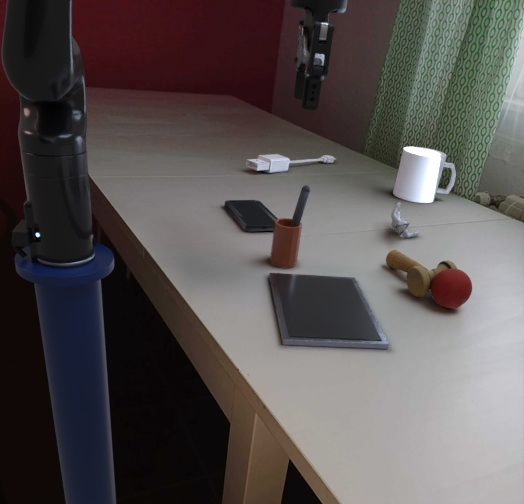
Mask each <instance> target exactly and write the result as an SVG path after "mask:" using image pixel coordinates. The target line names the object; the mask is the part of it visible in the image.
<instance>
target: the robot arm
mask: <svg viewBox="0 0 524 504" xmlns="http://www.w3.org/2000/svg"><path fill="white" fill-rule="evenodd" d="M73 2H74V1H73V0H6V7H5V8H6V9H5V15H4V16H5V18H4V25H3V33H2V42H1V52H0V53H1V54H0V55H1V63H2V67H3V71H4V73H5V76H6V78H7V80H8V82H9V83H10V85H11V86H12V87H13V89H14V90H15V91H16V92H17V93H18V94H19V103H20V104H19V105H20V112H19V113H20V115H19V122H18V129H17V136H18V144H19V151H20V159H21V164H22V171H23V178H24V185H25V193H26V200H25V202H24V203H23V212H24V219H21V220H20V221H19V223H18V224H17V225H16V226H15V227H14V228H13V230H12V231H11V235H12V237H11V240H10V241H11V242H10V243H11V247H12V248H13V250H14V252H16V254H17V253H18V254H19V255H20V256H21V257H22V258H24V257H25V256H27V254H26V253H25V252H24V251H23V250H22V249H23V248H25V247H29V248H30V255H31V262H32V263H39V264H41V265H44V266H47V267H52V268H74V267H79V266H83V265H86V264H88V263H90V262H92V261H93V260H94V258H95V250H94V245H95V247H96V248H97V246H96V243H97V239H96V237H95V236H94V229H93V216H92V215H93V213H92V202H91V188H90V177H89V165H88V163H89V161H88V150H87V132H88V131H87V130H88V114H87V93H86V76H85V66H84V58H83V55H82V51H81V48H80V47H79V46H80V45H79V44H78V42H77V41H76V39H75V38H74V37H73ZM348 2H349V0H289V3H290V6H291V8H293V9H299V10H300V9H301V10H304V11H305V14H304V17H300V19H299V21H298V30H297V40H296V46H295V56H294V59H293V61H294V68H295V70H296V72H295V79H294V80H295V81H294V89H293V98H294V99H295V100H300V101H301V103H300V104H301V108H302V109H303V110H309V111H316V110H317V109H318V108H319V103H320V96H321V88H322V83H323V82H322V81H324V79H325V77H327V76H328V74H329V65H330V57H331V51H332V44H333V39H334V38H333V37H334V31H335V23H334V22H330V15H331V14H339V15H340V14H341V15H343V14H344V13H345V12H346V11H347V7H348ZM21 247H23V248H21Z"/></svg>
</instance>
